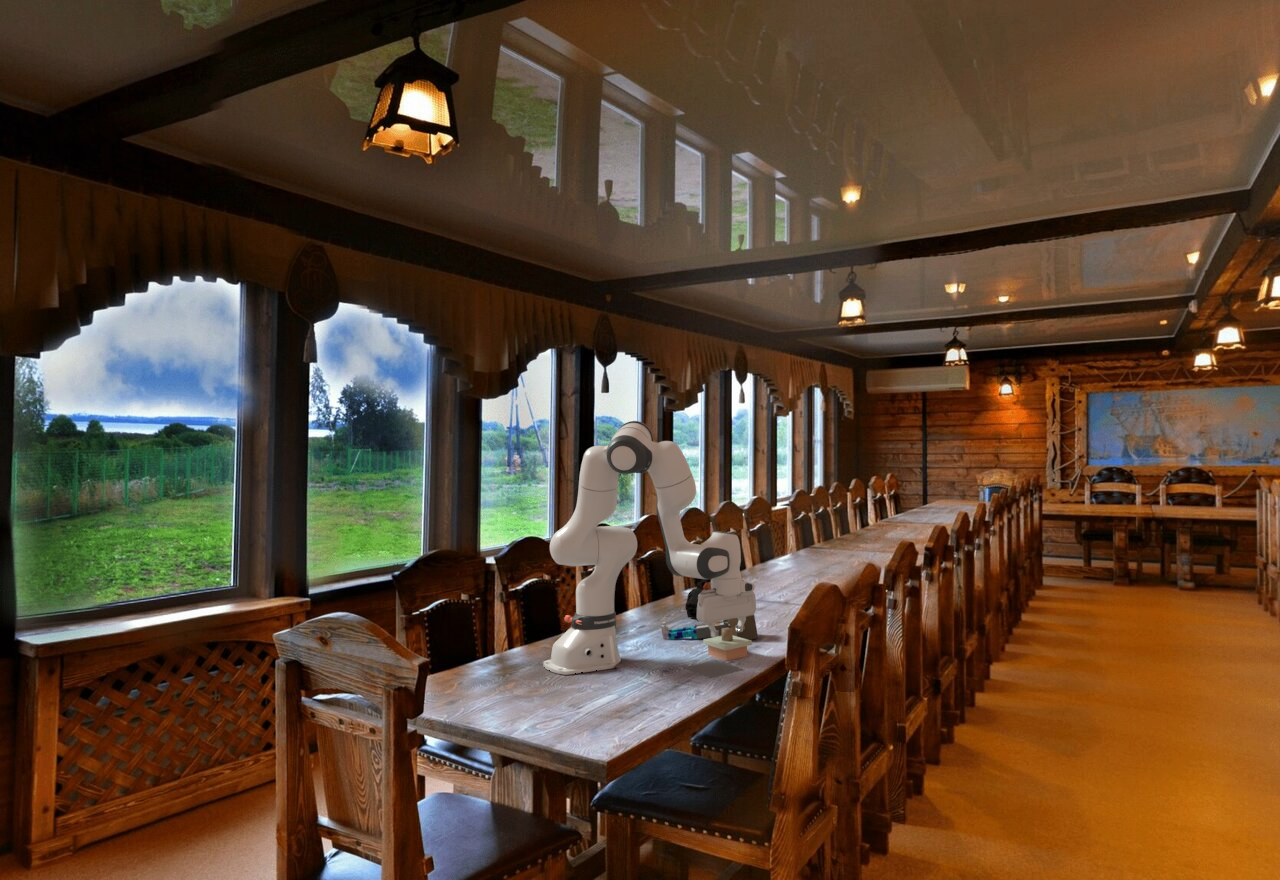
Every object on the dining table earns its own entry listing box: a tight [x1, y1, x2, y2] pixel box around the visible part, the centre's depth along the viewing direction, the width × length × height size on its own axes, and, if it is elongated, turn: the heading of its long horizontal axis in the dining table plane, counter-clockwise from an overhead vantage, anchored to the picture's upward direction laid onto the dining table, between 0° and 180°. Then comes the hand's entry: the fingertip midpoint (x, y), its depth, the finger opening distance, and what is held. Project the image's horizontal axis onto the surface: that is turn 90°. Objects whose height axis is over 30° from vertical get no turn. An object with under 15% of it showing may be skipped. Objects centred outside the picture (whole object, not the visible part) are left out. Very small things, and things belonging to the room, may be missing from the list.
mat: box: [683, 659, 746, 679], centre depth 210 cm, size 12×12×1 cm
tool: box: [685, 579, 711, 619], centre depth 283 cm, size 8×23×15 cm, turn 160°
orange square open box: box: [707, 645, 748, 661], centre depth 223 cm, size 8×8×4 cm
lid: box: [702, 628, 753, 650], centre depth 223 cm, size 10×10×4 cm
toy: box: [660, 613, 759, 640], centre depth 248 cm, size 26×8×30 cm
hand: (727, 634), depth 223 cm, fingers open, 8 cm apart
